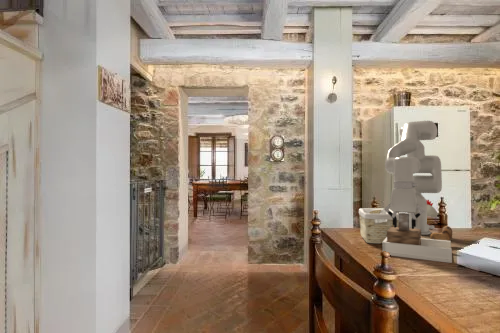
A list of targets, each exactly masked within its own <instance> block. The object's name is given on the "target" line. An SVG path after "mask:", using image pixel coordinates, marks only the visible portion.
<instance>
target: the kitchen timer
mask: <svg viewBox="0 0 500 333" xmlns="http://www.w3.org/2000/svg"><path fill="white" fill-rule="evenodd" d="M426 201H427V216H431V217H437V215H439V212H438V211H437V210H436V208H435V207H433V204H434V203H433V202H432V201H430V199H426Z"/></svg>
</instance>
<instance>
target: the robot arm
mask: <svg viewBox="0 0 500 333" xmlns="http://www.w3.org/2000/svg"><path fill="white" fill-rule="evenodd" d="M437 135H438V128H437V125H436V123H435V122H434V121H431V120H418V121H417V120H416V121H410V122H406V123H404V124H403V125H402V126H401V127H400V129H399V136H400V137H399V142H397V143H396V144H394V145H393V146H392V147H391V148H390V149H388V151H387V154H386V157H385V161H384V162H385V163H384V167H385V171H386V172H387V173H388V174H390V175H391V174H392V175H393V188H392V189H391V193H390V194H391V196H390V203H389V204H388V205H387V206H385V207H384V208H385V209H384V210H385V211H386V212H387V213H388V214H389V215H390V216H391V217H392V218H393V225H394V228H396V227H397V218H396V214H397V213H407V214H409V228H412V229H421V236H427V235H431V234H432V233H431V232H432V231H431V230H434V229H435V225H430V224H427V201H426V200H427V199H426V198H425V196H424V195H423V194H439V193H440V192H442V188H443V182H442V181H443V178H442V177H443V175H442V161H441V158H440V156H438V155H431V154H430V155H426V153H425V145H424V143H422V141H431V140H435V139H436V138H437ZM414 174H416V175H414ZM417 174H424V175H417ZM425 174H430V175H425ZM389 209H390V210H392V211H393V213H392V212H391V211H390V210H389Z"/></svg>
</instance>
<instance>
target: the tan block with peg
mask: <svg viewBox="0 0 500 333" xmlns="http://www.w3.org/2000/svg"><path fill="white" fill-rule="evenodd" d="M398 214H399V225H398V227H396V228H394V227H390V228H389V230H388V231H387V242H391V243H401V244H411V245H421V238H422V235H421V229H412V228H409V214H408V213H405V212H398Z"/></svg>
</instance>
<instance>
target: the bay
mask: <svg viewBox="0 0 500 333" xmlns="http://www.w3.org/2000/svg"><path fill="white" fill-rule="evenodd" d="M381 244H382V252H383V251H386V252H389V253H390V255H391V256H393V257H399V258H400V257H401V258H408V259H418V260H425V261H433V262H440V263H441V262H442V263H447V264H450V263H451V264H452V263H453V252H452V251H453V250H452V242H451V240H450V241H446V240H434V239H430V238H422V237H421V245H411V244H401V243H391V242H387V237H386V238H385V240H384V241H383V242H382V243H381ZM390 255H389V256H390Z"/></svg>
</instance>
